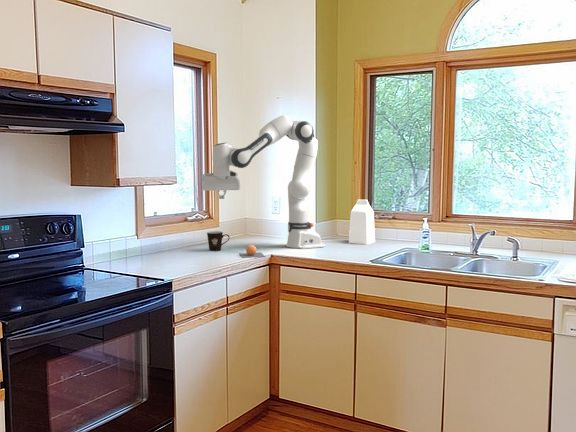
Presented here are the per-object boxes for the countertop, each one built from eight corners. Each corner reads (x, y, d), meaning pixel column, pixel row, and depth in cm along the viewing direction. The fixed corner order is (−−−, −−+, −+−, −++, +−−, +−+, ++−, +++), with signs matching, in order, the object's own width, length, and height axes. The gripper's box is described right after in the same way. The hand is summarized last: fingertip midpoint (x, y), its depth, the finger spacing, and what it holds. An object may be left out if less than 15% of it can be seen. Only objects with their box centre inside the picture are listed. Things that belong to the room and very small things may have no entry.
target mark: (261, 252, 296) (261, 252, 296) (265, 256, 284) (265, 256, 284) (239, 253, 293) (239, 253, 293) (242, 257, 282) (242, 257, 282)
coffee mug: (204, 250, 302) (204, 233, 301) (211, 248, 310) (211, 231, 309) (223, 252, 298) (223, 234, 297) (230, 249, 307) (230, 231, 305)
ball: (257, 246, 292) (247, 242, 290) (258, 248, 286) (249, 243, 285) (252, 256, 292) (243, 252, 290) (254, 257, 286) (245, 253, 285)
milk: (348, 242, 330) (349, 199, 327) (357, 240, 339) (358, 198, 337) (366, 244, 323) (367, 200, 320) (375, 242, 333) (375, 199, 330)
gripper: (202, 173, 289) (202, 199, 291) (240, 173, 294) (240, 198, 295) (201, 173, 295) (201, 198, 297) (238, 172, 300) (239, 198, 301)
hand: (221, 198), depth 296 cm, fingers closed
